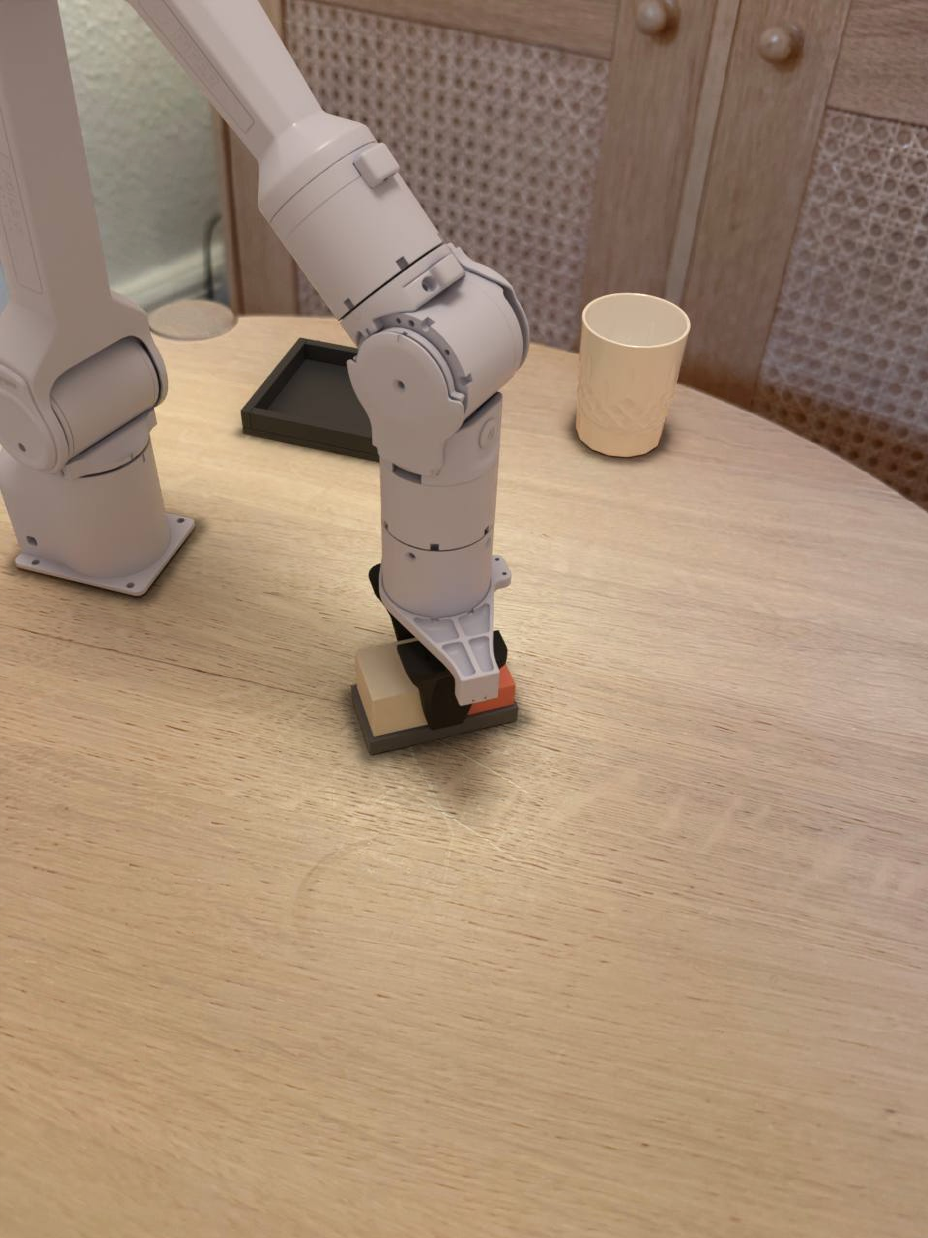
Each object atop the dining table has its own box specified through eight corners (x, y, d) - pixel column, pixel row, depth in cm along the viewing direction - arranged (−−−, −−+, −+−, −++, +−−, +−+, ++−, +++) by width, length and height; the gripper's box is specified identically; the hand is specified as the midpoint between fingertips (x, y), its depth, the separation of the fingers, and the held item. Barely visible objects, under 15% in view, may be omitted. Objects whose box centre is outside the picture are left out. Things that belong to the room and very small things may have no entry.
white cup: (684, 425, 87) (707, 312, 80) (641, 475, 82) (662, 358, 75) (597, 394, 90) (612, 282, 82) (550, 440, 85) (562, 325, 78)
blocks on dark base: (370, 755, 62) (368, 705, 59) (351, 698, 65) (348, 647, 62) (517, 720, 64) (522, 670, 61) (492, 667, 67) (496, 616, 64)
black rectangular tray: (242, 433, 84) (239, 410, 83) (301, 358, 92) (299, 336, 91) (433, 473, 81) (434, 450, 80) (476, 392, 89) (478, 370, 88)
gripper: (566, 594, 50) (542, 773, 60) (468, 421, 60) (460, 599, 69) (420, 624, 48) (419, 803, 58) (343, 441, 58) (353, 621, 68)
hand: (434, 694), depth 64 cm, fingers closed on blocks on dark base, 4 cm apart
